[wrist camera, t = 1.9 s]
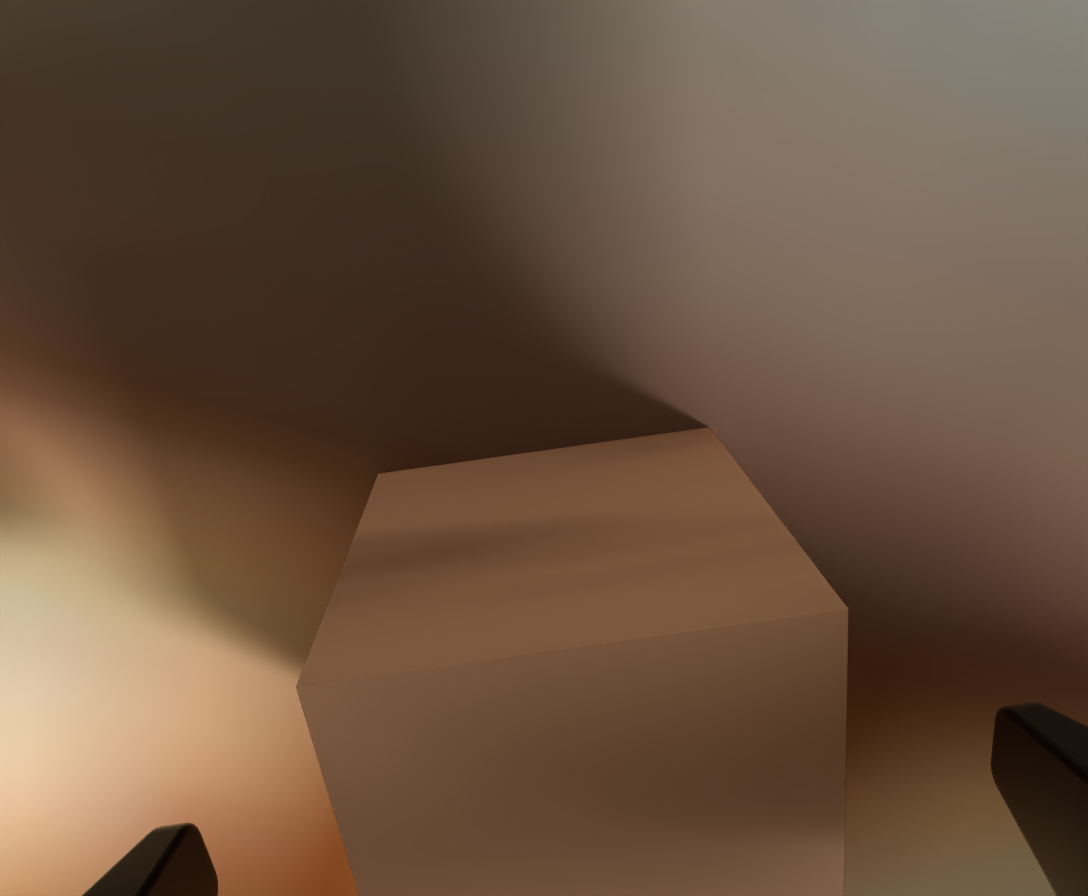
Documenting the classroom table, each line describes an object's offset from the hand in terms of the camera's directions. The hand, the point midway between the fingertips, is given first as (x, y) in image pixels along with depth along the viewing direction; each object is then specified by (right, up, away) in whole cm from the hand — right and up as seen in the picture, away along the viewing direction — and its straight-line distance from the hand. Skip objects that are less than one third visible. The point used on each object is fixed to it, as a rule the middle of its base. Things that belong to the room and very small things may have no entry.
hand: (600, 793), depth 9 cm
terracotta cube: (0, +1, +4) cm, 4 cm away
